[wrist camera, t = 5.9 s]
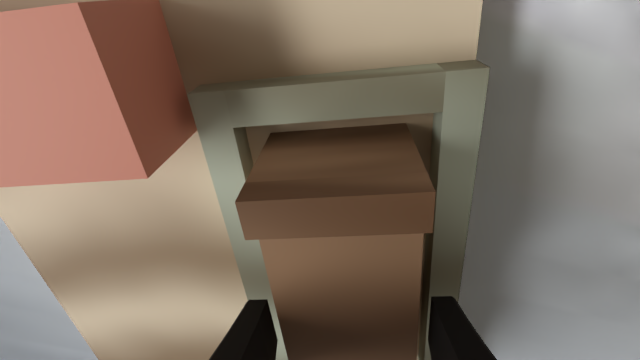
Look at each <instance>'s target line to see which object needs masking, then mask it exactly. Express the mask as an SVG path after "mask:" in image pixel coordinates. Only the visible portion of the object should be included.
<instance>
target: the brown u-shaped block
mask: <svg viewBox="0 0 640 360" xmlns="http://www.w3.org/2000/svg"><path fill="white" fill-rule="evenodd" d="M435 194H436V192H435V189H434V187H433V185H432V182H431V180H430V178H429V175H428V173H427V171H426V168H425V166H424V164H423V161H422V159H421V157H420V154H419V152H418V150H417V147H416V145H415V143H414V140H413V138H412V136H411V133H410V131H409V129H408V127H407V124H406V123H397V124H383V125H369V126H356V127H342V128H329V129H315V130H301V131H288V132H274V133H270V135H269V137H268V139H267V141H266V143H265V145H264V147H263V149H262V150H261V152H260V154H259V156H258V158H257V160H256V162H255V164H254V166H253V168H252V170H251V172H250V174H249V176H248V178H247V179H246V181H245V183H244V185H243V187H242V189H241V191H240V193H239V195H238V197H237V199H236V201H235V205H236V209H237V212H238V216H239V220H240V223H241V227H242V231H243V235H244V238H245V240H259V243H260V247H261V251H262V255H263V259H264V263H265V267H266V271H267V275H268V279H269V284H270V288H271V292H272V296H273V300H274V304H275V308H276V312H277V316H278V320H279V325H280V329H281V333H282V337H283V341H284V345H285V349H286V353H287V357H288V360H417V343H418V325H419V307H420V290H421V272H422V254H423V237H424V233H433V221H434V208H435Z"/></svg>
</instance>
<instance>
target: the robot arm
mask: <svg viewBox="0 0 640 360" xmlns="http://www.w3.org/2000/svg"><path fill="white" fill-rule="evenodd" d="M277 343H278V339H277V335H276V331H275V327H274V324H273V320H272V316H271V312H270V308H269V304H268V300H267V299H262V300H248V301H247V302H246V304H245V305H244V307H243V309H242V310H241V312H240V313H239V315H238V317H237V318H236V320H235V321H234V323H233V324H232V326H231V328H230V329H229V331H228V332H227V334H226V335H225V337H224V338H223V340H222V341H221V343H220V344H219V345H218V347H217V348H216V350H215V351H214V353H213V354H212V356H211V357H210V358H209V360H276V351H277ZM428 343H429V349H430V355H431V360H497V359H496V358H495V357H494V355H493V354H492V353H491V351H490V350H489V349H488V347H487V346H486V344H485V343H484V342H483V340H482V339H481V337H480V336H479V335H478V333H477V332H476V330H475V329H474V327H473V326H472V324H471V323H470V321H469V320H468V318H467V317H466V315H465V314H464V312H463V311H462V309H461V307H460V306H459V304H458V303H457V301H456V299H455V298H454V297H452V296H431V306H430V319H429V331H428Z"/></svg>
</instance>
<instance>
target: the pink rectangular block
mask: <svg viewBox="0 0 640 360" xmlns="http://www.w3.org/2000/svg"><path fill="white" fill-rule="evenodd" d="M196 131H197V127H196V124H195V120H194V117H193V114H192V110H191V107H190V104H189V100H188V97H187V93H186V90H185V87H184V83H183V80H182V76H181V73H180V70H179V66H178V63H177V59H176V56H175V53H174V49H173V46H172V43H171V39H170V36H169V32H168V29H167V26H166V22H165V19H164V16H163V12H162V9H161V5H160V2H159V0H108V1H92V2H77V3H69V4H60V5H52V6H44V7H36V8H28V9H20V10H12V11H4V12H0V187H16V186H33V185H50V184H66V183H83V182H100V181H116V180H133V179H148V178H149V177H150V176H151V175H152V174H153V173H154V172H155V171H156V170H157V169H158V168H159V167H160V166H161V165H162V164H163V163H164V162H165V161H166V160H167V159H169V158H170V157H171V156H172V155H173V154H174V153H175V152H176V151H177V150H178V149H179V148H180V147H181V146H182V145H183V144H184V143H185V142H186V141H187V140H188V139H189V138H190V137H191V136H192V135H193V134H194V133H195V132H196Z"/></svg>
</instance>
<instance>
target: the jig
mask: <svg viewBox="0 0 640 360" xmlns="http://www.w3.org/2000/svg"><path fill="white" fill-rule="evenodd" d="M92 1H108V0H0V12H4V11H12V10H20V9H28V8H36V7H44V6H52V5H60V4H69V3H77V2H92ZM159 2H160V5H161V9H162V12H163V16H164V19H165V22H166V26H167V29H168V32H169V36H170V39H171V43H172V46H173V49H174V53H175V56H176V59H177V63H178V66H179V70H180V73H181V76H182V80H183V83H184V87H185V90H186V93H187V97H188V100H189V104H190V107H191V110H192V114H193V117H194V120H195V124H196V127H197V131H196V132H195V133H194V134H193V135H192V136H191V137H190V138H189V139H188V140H187V141H186V142H185V143H184V144H183V145H182V146H181V147H180V148H179V149H178V150H177V151H176V152H175V153H174V154H173V155H172V156H171V157H170V158H169V159H167V160H166V161H165V162H164V163H163V164H162V165H161V166H160V167H159V168H158V169H157V170H156V171H155V172H154V173H153V174H152V175H151V176H150V177H149V178H148V179H133V180H116V181H100V182H83V183H66V184H50V185H33V186H16V187H0V217H1V218H2V220H3V221H4V222H5V224H6V225H7V227H8V228H9V230H10V231H11V233H12V234H13V236H14V237H15V238H16V240H17V241H18V243H19V244H20V246H21V247H22V249H23V250H24V252H25V253H26V255H27V256H28V257H29V259H30V260H31V262H32V263H33V265H34V266H35V268H36V269H37V271H38V272H39V273H40V275H41V276H42V278H43V279H44V281H45V282H46V284H47V285H48V287H49V288H50V290H51V291H52V292H53V294H54V295H55V297H56V298H57V300H58V301H59V303H60V304H61V306H62V307H63V308H64V310H65V311H66V313H67V314H68V316H69V317H70V319H71V320H72V322H73V323H74V325H75V326H76V327H77V329H78V330H79V332H80V333H81V335H82V336H83V338H84V339H85V341H86V342H87V344H88V345H89V346H90V348H91V349H92V351H93V352H94V354H95V355H96V357H97V358H98V360H209V358H210V357H211V356H212V354H213V353H214V351H215V350H216V348H217V347H218V345H219V344H220V343H221V341H222V340H223V338H224V337H225V335H226V334H227V332H228V331H229V329H230V328H231V326H232V324H233V323H234V321H235V320H236V318H237V317H238V315H239V313H240V312H241V310H242V309H243V307H244V305H245V304H246V302H247V301H248V300H262V299H267V300H268V304H269V308H270V312H271V316H272V320H273V324H274V327H275V331H276V335H277V339H278V343H277V351H276V360H288V357H287V353H286V349H285V345H284V341H283V337H282V333H281V329H280V325H279V320H278V316H277V312H276V308H275V304H274V300H273V296H272V292H271V288H270V284H269V279H268V275H267V271H266V267H265V263H264V259H263V255H262V251H261V247H260V243H259V240H245V238H244V235H243V231H242V227H241V223H240V220H239V216H238V212H237V209H236V205H235V201H236V199H237V197H238V195H239V193H240V191H241V189H242V187H243V185H244V183H245V181H246V179H247V178H248V176H249V174H250V172H251V170H252V168H253V166H254V164H255V162H256V160H257V158H258V156H259V154H260V152H261V150H262V149H263V147H264V145H265V143H266V141H267V139H268V137H269V135H270V133H274V132H288V131H301V130H315V129H329V128H342V127H356V126H369V125H383V124H397V123H406V124H407V127H408V129H409V131H410V133H411V136H412V138H413V140H414V143H415V145H416V147H417V150H418V152H419V154H420V157H421V159H422V161H423V164H424V166H425V168H426V171H427V173H428V175H429V178H430V180H431V182H432V185H433V187H434V189H435V192H436V194H435V208H434V221H433V233H424V237H423V254H422V272H421V290H420V307H419V325H418V343H417V360H431V355H430V349H429V343H428V331H429V319H430V306H431V296H452V297H454V298H455V299H456V301H457V303H458V299H459V291H460V284H461V277H462V269H463V262H464V255H465V247H466V240H467V233H468V225H469V218H470V211H471V203H472V196H473V189H474V181H475V174H476V167H477V159H478V152H479V145H480V137H481V130H482V123H483V115H484V108H485V101H486V93H487V86H488V79H489V71H490V67H488V66H486V65H484V64H483V63H481V62H479V61H478V60H476V55H477V47H478V38H479V29H480V21H481V12H482V3H483V0H159Z"/></svg>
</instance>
